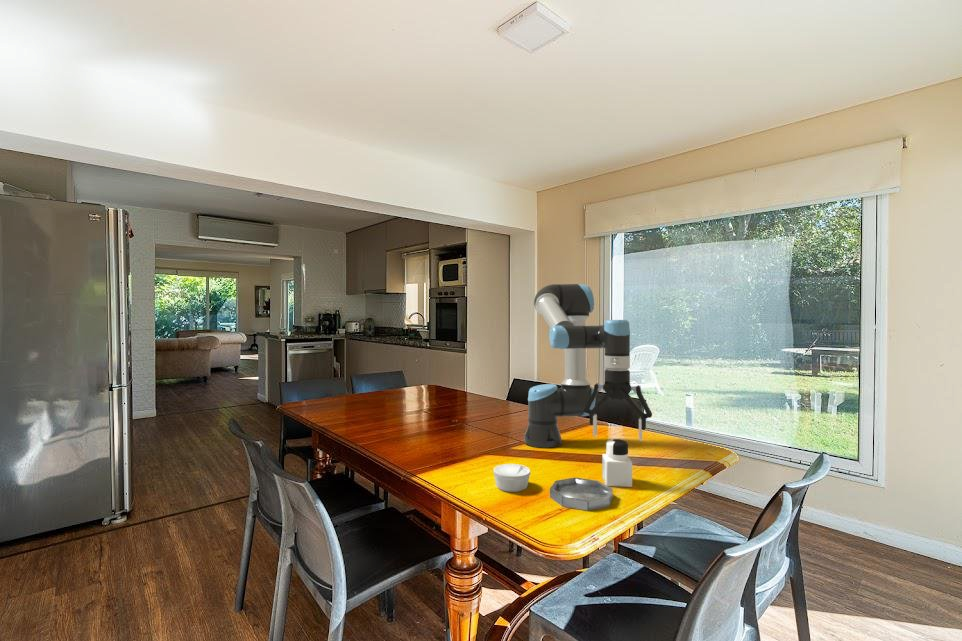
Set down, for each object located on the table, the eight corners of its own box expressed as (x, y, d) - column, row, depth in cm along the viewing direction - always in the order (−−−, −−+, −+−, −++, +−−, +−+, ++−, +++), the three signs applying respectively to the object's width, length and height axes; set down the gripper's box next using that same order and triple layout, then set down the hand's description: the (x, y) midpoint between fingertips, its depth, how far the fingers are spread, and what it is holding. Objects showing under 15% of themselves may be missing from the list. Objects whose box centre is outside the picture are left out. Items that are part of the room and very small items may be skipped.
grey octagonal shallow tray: (545, 503, 125) (545, 494, 125) (559, 483, 141) (559, 475, 141) (606, 513, 119) (606, 504, 119) (614, 491, 134) (614, 483, 134)
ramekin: (536, 491, 134) (536, 473, 134) (500, 496, 131) (500, 477, 131) (522, 478, 145) (522, 462, 145) (488, 482, 142) (488, 465, 142)
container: (626, 478, 145) (626, 437, 145) (632, 487, 137) (632, 444, 137) (602, 477, 145) (602, 437, 145) (606, 486, 138) (606, 443, 138)
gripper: (574, 368, 142) (574, 436, 142) (659, 372, 132) (660, 444, 132) (579, 366, 149) (579, 431, 149) (660, 369, 139) (660, 438, 139)
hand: (617, 437), depth 141 cm, fingers open, 13 cm apart
